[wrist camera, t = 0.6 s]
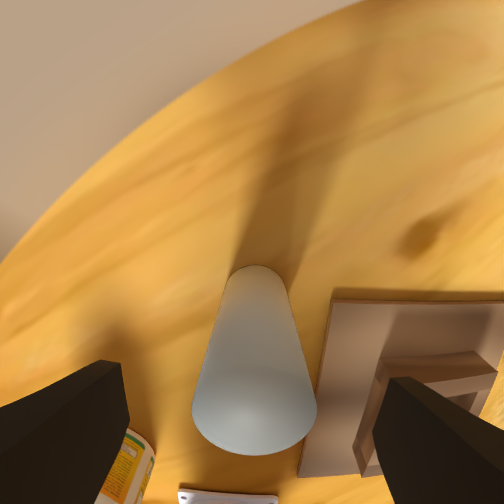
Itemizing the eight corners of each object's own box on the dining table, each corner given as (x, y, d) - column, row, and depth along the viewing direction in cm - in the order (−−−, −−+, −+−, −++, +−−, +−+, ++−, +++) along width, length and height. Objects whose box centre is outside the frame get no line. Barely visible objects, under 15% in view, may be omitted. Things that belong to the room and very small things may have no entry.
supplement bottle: (168, 466, 20) (140, 568, 10) (112, 468, 20) (74, 554, 11) (134, 416, 19) (83, 525, 9) (77, 421, 19) (20, 509, 10)
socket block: (452, 450, 20) (469, 476, 16) (296, 472, 20) (301, 508, 16) (512, 300, 17) (544, 318, 13) (330, 299, 17) (348, 327, 13)
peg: (283, 324, 17) (306, 455, 8) (223, 321, 17) (193, 450, 8) (288, 266, 16) (326, 366, 7) (225, 263, 16) (189, 359, 7)
